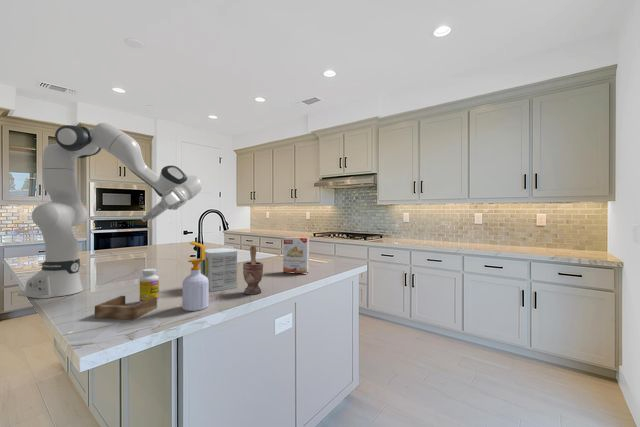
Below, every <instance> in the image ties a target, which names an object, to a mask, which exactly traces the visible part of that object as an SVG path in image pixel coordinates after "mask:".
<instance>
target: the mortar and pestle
mask: <svg viewBox="0 0 640 427" xmlns="http://www.w3.org/2000/svg"><path fill="white" fill-rule="evenodd" d="M249 252H250V261H247V262H246V261H245V262H243V264H242V265H243V266H242V269H243V273H242V274H243V279H244V282H245V283H246V284H247V287H246V288H244V291H243V293H244V294H246V295H249V294H253V295H257V294H258V293H259V294H261V293H262V289H261V287H260V286H259V283H260V282H261V281H262V278H263V274H264V273H263V272H264V262H261V261H257V258H256V257H257V247H256V245H251V246H250V248H249Z"/></svg>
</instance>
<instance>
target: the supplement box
mask: <svg viewBox="0 0 640 427" xmlns="http://www.w3.org/2000/svg"><path fill="white" fill-rule="evenodd" d="M199 254H200V257H199V259H201V249H200V253H199ZM199 265H200V266H199V267H200V273H201V274H202V275H204V276H205V277H207V278H208V281H209V293H211V292H218V291H224V290H230V289H231V288H232V289H237V288H238V250H235V249H232V248H227V247H221V248H207V249H206V248H205V259H204V260H203V261H201V262H200V264H199ZM236 287H237V288H236Z"/></svg>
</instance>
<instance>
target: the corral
mask: <svg viewBox="0 0 640 427" xmlns="http://www.w3.org/2000/svg"><path fill="white" fill-rule="evenodd" d="M157 308H158V302H157V297H152V298H150V299H147V300H145V301H143V302H141V303H140V302H139V303H136V304H134V305H126V295H120V296H117V297H114V298H113V299H109V300H107V301H104V302H102V303H100V304H96V305H94V318H95V319H111V320H132V321H135V320H136V319H138V318H140V317H142V316H144V315H145V314H148V313H149V312H151V311H153V310H155V309H157Z"/></svg>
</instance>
